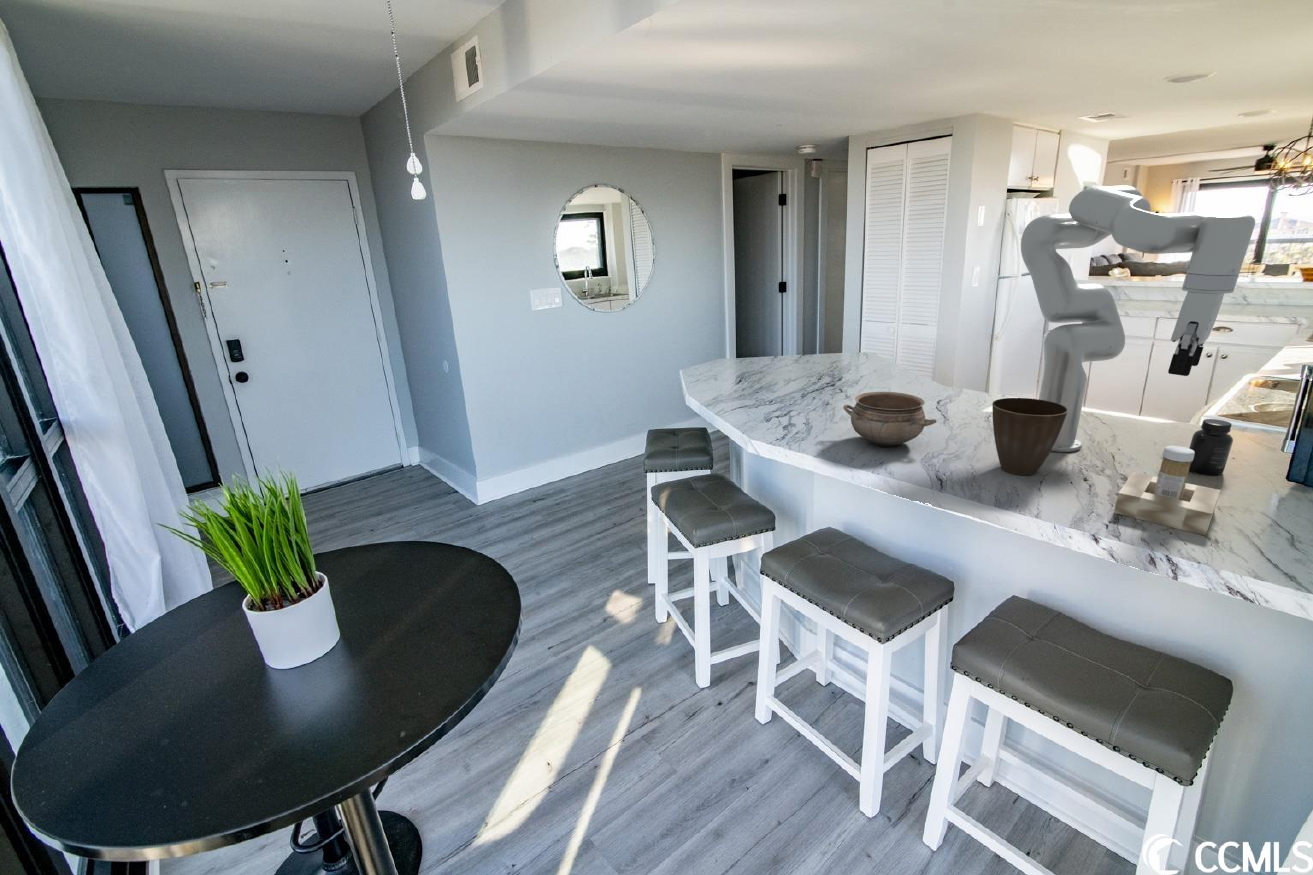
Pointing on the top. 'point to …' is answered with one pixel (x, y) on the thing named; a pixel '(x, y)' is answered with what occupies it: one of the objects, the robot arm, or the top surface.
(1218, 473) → the supplement bottle
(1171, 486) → the sprinkles bottle
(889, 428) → the cooking pot
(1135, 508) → the socket block
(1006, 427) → the plant pot
